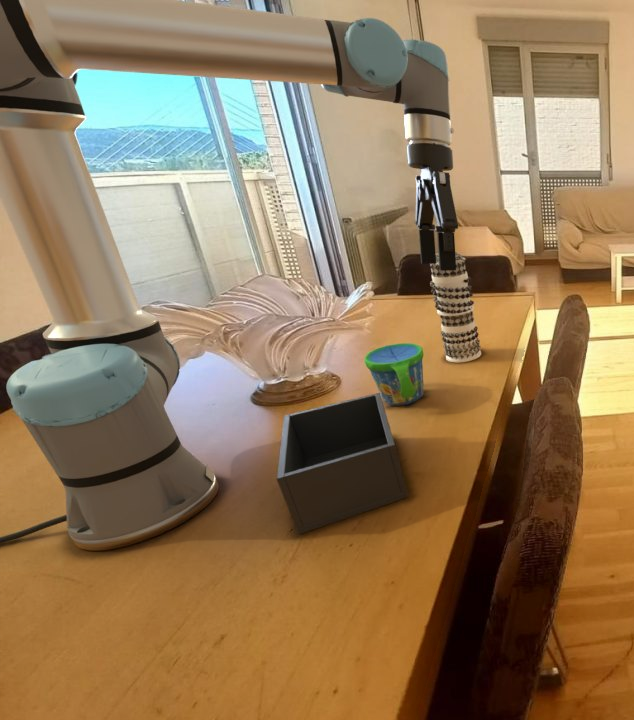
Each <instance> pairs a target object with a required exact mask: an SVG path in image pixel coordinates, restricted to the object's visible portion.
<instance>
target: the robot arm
mask: <svg viewBox="0 0 634 720" xmlns="http://www.w3.org/2000/svg"><path fill="white" fill-rule="evenodd" d="M448 67H449V66H448V61H447V55H446V52H445V51H444V50H443V48H441V47H440V46H439V45H437V44H435V43H432V42H430V41H426V40H422V39H419V40H417V39H414V38H413V39H412V38H411V39H409V38H408V39H405V40H403V39H402V37H401V36H400V35H399V33H398V32H397V31H396V30H395V29H394V28H393V27H392V26H390V25H389V24H388V23H387V22H384V21H383V20H381V19H377V18H374V17H364V18H363V17H362V18H360V19H356V20H355V21H352V22H349V21H340V20H333V19H332V20H330V19H323V18H317V17H311V16H310V17H309V16H301V15H296V14H295V15H294V14H286V13H278V12H271V11H264V10H257V9H248V8H241V7H233V6H225V5H218V4H210V3H205V2H204V3H203V2H197V1H196V2H195V1H189V0H188V1H187V0H0V202H1V204H2V207H3V208H4V210H5V213H6V215H7V217H8V220H9V222H10V224H11V227H12V229H13V231H14V233H15V236H16V238H17V240H18V242H19V244H20V247H21V249H22V251H23V254H24V257H25V258H26V260H27V262H28V266H29V267H30V269H31V272H32V274H33V276H34V279H35V282H36V283H37V285H38V288H39V290H40V293H41V294H42V297H43V299H44V302H45V303H46V306H47V308H48V310H49V312H50V315H51V317H52V319H53V321H52V322H51V324H49V326H48V327H47V328H46V329H45V330H44V331H43V332H42V337H43V339H44V342H45V343H46V345H47V349H48V350H49V352H50V353H49V354H45V355H43V356H42V357H41V358H40V359H37V360H32V361H30V362H28V363H26V364H24V365H23V366H21V367H19V368H18V369H16V370H15V371H14V372H13V373H12V374H11V375H10V377H9V378H8V380H7V382H6V387H5V388H6V392H7V395H8V397H9V399H10V401H11V402H10V403H11V406H12V409H13V412H14V413H15V414H16V415H17V417H19V418H20V419H21V421H22V422H23V424H24V426H25V427H26V429H27V430H28V432H29V434H30V435H31V436H32V439H34V442H35V443H36V444H37V446H38V448H39V449H40V451H41V453H42V454H43V455H44V457H45V458H46V460H47V462H48V463H49V465H50V466H51V468H52V470H53V471H54V473H55V474H56V476H57V477H58V479H59V480H60V483H62V485H63V487H64V490H65V509H66V514H64V515H61V516H59V517H56V518H52V519H49V520H47V521H44V522H41V523H38V524H36V525H33V526H31V527H27V528H26V529H23V530H20V531H16V532H14V533H10V534H6V535H3V536H0V544H3V543H7V542H10V541H14V540H17V539H20V538H23V537H26V536H29V535H31V534H34V533H36V532H39V531H41V530H45V529H47V528H50V527H52V526H56V525H59V524H62V523H65V522H66V529H67V533H68V536H69V537H70V538H71V540H72V542H73V544H74V545H75V546H76V547H78V548H79V549H82V550H85V551H107V550H114V549H118V548H123V547H128V546H131V545H134V544H137V543H141V542H144V541H146V540H149V539H151V538H155V537H156V536H159V535H162V534H164V533H165V532H168V531H170V530H173V529H174V528H176V527H178V526H180V525H182V524H183V523H185V522H187V521H188V520H189V519H191V518H193V517H195V516H196V515H197V514H198V513H200V512H201V511H203V510H204V509H205V508H206V507H207V506H208V505H209V504H210V503H211V502H212V501H213V500H214V499H215V497H216V496H217V494H218V492H219V483H218V480H217V478H216V476H215V471H214V470H213V469H212V468H211V467H210V466H208V465H205V464H204V462H202V461H201V460H199V459H198V458H197V457H196V456H195V455H193V454H192V453H191V452H190V451H189V450H188V449H187V448H185V447H184V446H183V444H182V443H181V441H180V440H181V439H180V438H179V436H178V434H177V432H176V430H175V428H174V425H173V424H172V421H171V419H170V417H169V415H168V413H167V410H166V409H165V404H166V402H167V399H168V397H169V395H170V393H171V391H172V389H173V387H174V386H175V385H176V383H177V380H178V378H179V376H180V369H181V361H180V356H179V354H178V351H177V349H176V348H175V346H174V344H173V343H172V342H171V341H170V340H169V339H168V338H166V336H165V335H164V332H163V329H162V327H161V323H160V321H159V319H158V317H157V316H156V315H154V314H152V313H150V312H147V311H145V310H143V309H142V308H140V305H139V304H138V300H137V297H136V295H135V292H134V289H133V287H132V286H133V285H132V284H131V281H130V279H129V276H128V273H127V270H126V268H125V265H124V262H123V259H122V257H121V253H120V251H119V249H118V246H117V243H116V239H115V237H114V235H113V233H112V230H111V227H110V224H109V221H108V219H107V216H106V214H105V210H104V207H103V205H102V202H101V200H100V197H99V194H98V192H97V189H96V186H95V183H94V181H93V178H92V175H91V173H90V169H89V167H88V164H87V161H86V159H85V155H84V154H83V151H82V147H81V145H80V143H79V140H78V138H77V134H76V132H77V130H78V128H79V127H81V125H82V124H83V123H85V121H86V120H87V116H86V113H85V111H84V108H83V105H82V102H81V99H80V96H79V93H78V90H77V88H76V86H77V81H78V72H79V71H80V70H89V71H90V70H91V71H106V72H121V73H135V74H136V73H137V74H150V75H151V74H152V75H167V76H183V77H184V76H185V77H198V78H199V77H201V78H216V79H217V78H218V79H230V80H231V79H232V80H248V81H265V82H277V83H278V82H280V83H294V84H309V85H310V84H313V85H321V87H322V89H324V90H325V91H326V92H328V93H332V94H338V95H342V96H344V97H347V98H349V97H354V98H361V99H368V100H376V101H382V102H388V103H393V104H398V105H399V104H400V105H403V106H402V107H403V111H404V112H403V114H404V115H403V119H404V131H405V133H404V134H405V140H406V142H408V143H409V144H407V146H406V154H407V165H408V167H410V168H412V169H415V170H417V169H418V170H420V175H415V187H416V188H415V189H416V191H415V214H414V215H415V218H414V219H415V220H414V224H415V226H417V229H418V238H419V252H420V263H421V264H422V265H423V264H424V265H428V264H429V265H430V264H436V254H437V253H438V254H439V269H440V271H445V270H456V257H455V252H456V242H455V240H456V239H455V232H456V230H458V229H459V223H458V218H457V211H456V207H455V202H454V197H453V192H452V187H451V175H450V172H447V171H452V170H453V169H454V158H453V157H454V156H453V149H452V148H451V147H449V146H451V145H452V134H454V133H455V129H454V128H453V127H451V108H450V76H449V68H448ZM434 219H435V220H436V225H435V224H434ZM435 233H436V237H437V251H438V252H437V253H436V241H435V240H436V239H435Z"/></svg>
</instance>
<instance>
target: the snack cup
mask: <svg viewBox="0 0 634 720" xmlns="http://www.w3.org/2000/svg"><path fill="white" fill-rule="evenodd" d="M423 349H424V348H423V347H422V346H421V345H420V344H416V343H411V342H410V343H407V342H401V343H393V344H388V345H384V346H381V347H377V348H375V349H373V350H371V351H369V352H368V353H367V354H366V355H365V356H364V358H363V359H364V364H365V367H366V368H367V369H368V370H369V371H370V373H371V376H372V378H373V381H374V383H375V385H376V388H377V390H378V393H380V395H381V398H382V401H383V402H384V403H386V404H387V405H388V406H390V407H392V406H399V407H400V406H406V405H410V404H412V403H414V402H416V401H418V400H420V399H421V398H422V397H423V396H424V368H423V367H424V365H423V358H424V350H423Z"/></svg>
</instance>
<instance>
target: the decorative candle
mask: <svg viewBox="0 0 634 720" xmlns="http://www.w3.org/2000/svg"><path fill="white" fill-rule="evenodd" d="M455 257H456V270H445V271H440V269H439V254H438V252H437V253H436V264H429V266H430V271H431V281H430V282H429V286H430V287H431V291H430V292H431V294H432V295H433V302H435V305H434V307H435V309H436V311H437V312H436V313H437V315H439V318H440V328H441V331H440V335H441V336H442V338H441V340H442V342H443V344H442V348H443V349H444V354H445V359H446V361H448V362H449V363H454V364H455V363H456V364H457V363H466V362H467V363H468V362H471V361H474V360H477V359H478V358H480V357H481V355H482V351H481V345H480V343H481V340H480V339H479V332H477V331H478V327H477V324H476V320H475V318H474V310H475V306H474V304H475V301H474V300H472V299H471V298H472V297H473V296H474V293H473V292H471V291H472V290H473V286H472V285H469V283H470V282H471V281H472V278H471V277H470V276H469V275H468V271H467V270H466V263H465V261H466V260H467V259H466V258H465V257H463V256H462V255H461V253H459V252H458V251H457V252H456V251H455Z"/></svg>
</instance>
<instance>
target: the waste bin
mask: <svg viewBox="0 0 634 720" xmlns="http://www.w3.org/2000/svg"><path fill="white" fill-rule="evenodd" d="M393 437H394V436H393V433H392V430H391V426H390V423H389V419H388V416H387V412H386V409H385V406H384V401H383V398H382V396H381V394H380V392H376V393H373V394H368V395H364V396H360V397H355V398H351V399H347V400H343V401H338V402H334V403H330V404H327V405H323V406H317V407H314V408H310V409H306V410H302V411H297V412H293V413H290V414H289V413H288V414H285V415H283V422H282V430H281V438H280V446H279V456H278V464H277V473H276V482H277V484H278V487H279V489H280V492H281V494H282V496H283V499H284V502H285V504H286V507H287V509H288V511H289V514H290V518H291V519H292V522H293V524H294V527H295V529H296V532H297V534H298V535H303V534H305V533H307V532H310V531H313V530H317V529H319V528H322V527H325V526H328V525H331V524H334V523H337V522H339V521H340V522H341V521H343V520H346V519H349V518H352V517H355V516H358V515H360V514H363V513H366V512H369V511H372V510H375V509H377V508H380V507H384V506H386V505H389V504H392V503H395V502H399V501H401V500H404V499H407V498H409V493H408V489H407V485H406V481H405V478H404V474H403V470H402V467H401V462H400V458H399V455H398V451H397V448H396V444H395V443H396V442H395V440H394V438H393Z"/></svg>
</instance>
